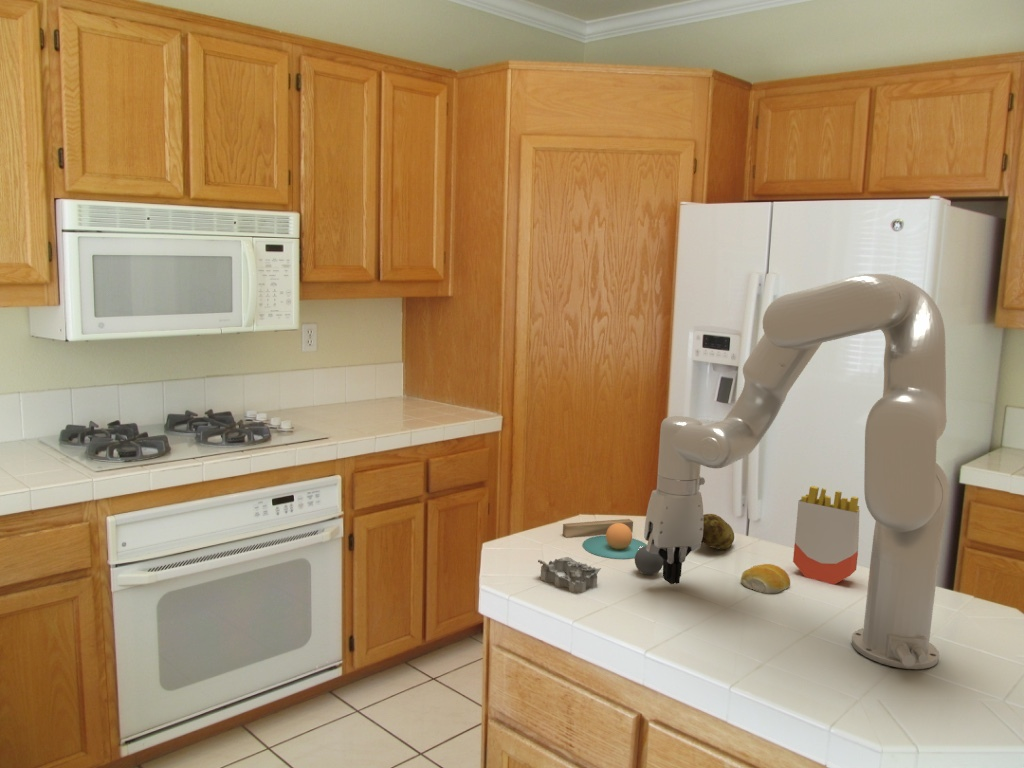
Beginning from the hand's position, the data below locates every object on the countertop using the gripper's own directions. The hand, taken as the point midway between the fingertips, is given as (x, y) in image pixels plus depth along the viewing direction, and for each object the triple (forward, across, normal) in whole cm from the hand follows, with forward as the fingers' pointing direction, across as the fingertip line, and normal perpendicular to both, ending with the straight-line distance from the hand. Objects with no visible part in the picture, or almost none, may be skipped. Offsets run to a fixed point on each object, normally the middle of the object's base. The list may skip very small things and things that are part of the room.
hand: (671, 581), depth 155 cm
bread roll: (+2, -19, +3) cm, 19 cm away
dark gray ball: (-1, 0, -8) cm, 8 cm away
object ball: (-1, 0, -22) cm, 22 cm away
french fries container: (+2, -32, +2) cm, 33 cm away
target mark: (+2, 0, -23) cm, 23 cm away
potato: (+2, -21, -18) cm, 27 cm away
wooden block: (+2, 0, -32) cm, 32 cm away
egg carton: (+2, +17, -8) cm, 19 cm away
